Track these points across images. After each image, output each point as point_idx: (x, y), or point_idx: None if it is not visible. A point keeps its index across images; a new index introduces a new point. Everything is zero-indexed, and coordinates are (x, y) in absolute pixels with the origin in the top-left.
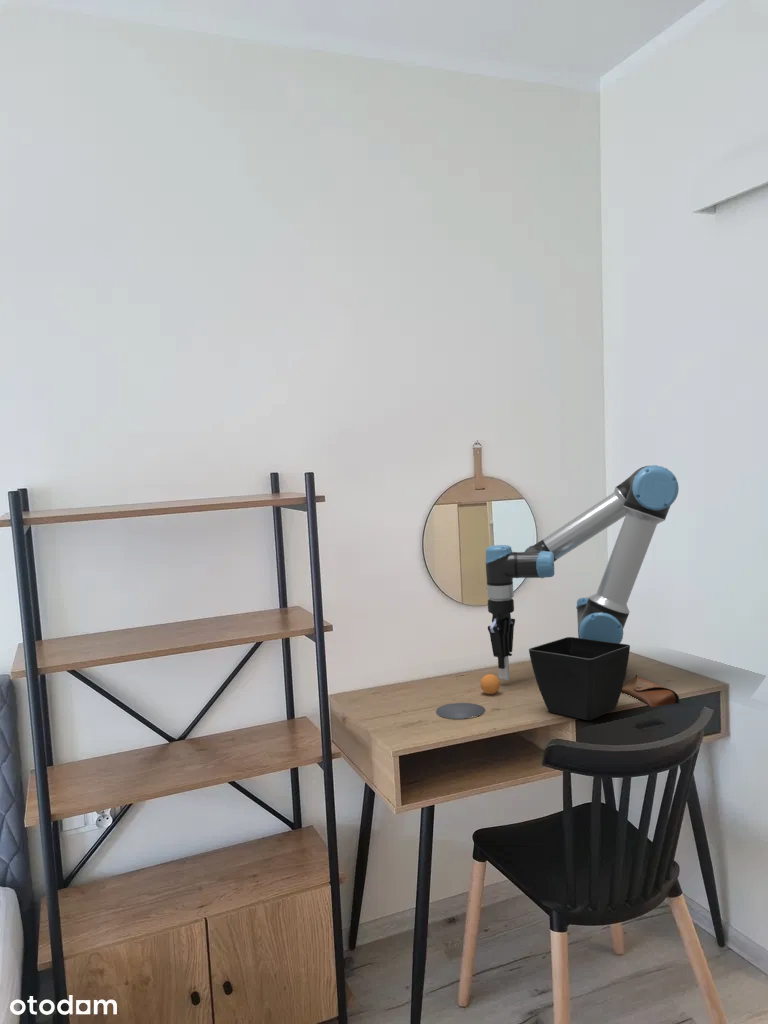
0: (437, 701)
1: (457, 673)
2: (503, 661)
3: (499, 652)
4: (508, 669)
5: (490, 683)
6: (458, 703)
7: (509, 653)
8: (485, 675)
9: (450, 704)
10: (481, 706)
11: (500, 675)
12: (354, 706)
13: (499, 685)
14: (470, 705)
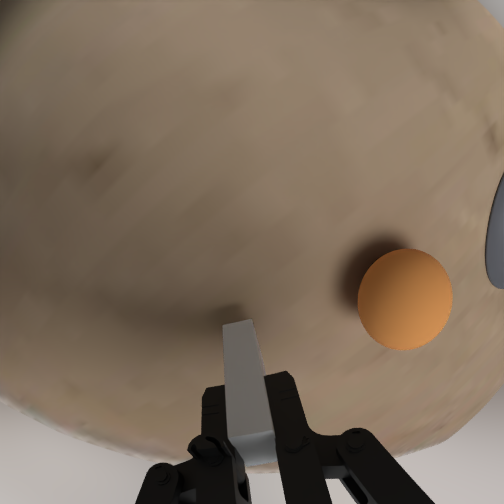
0: (478, 328)
1: None
2: (286, 411)
3: (388, 458)
4: (233, 361)
5: (447, 275)
6: (492, 272)
7: (208, 458)
8: (432, 338)
9: (499, 281)
10: (498, 195)
11: (262, 361)
12: (499, 382)
13: (400, 255)
14: (499, 230)
